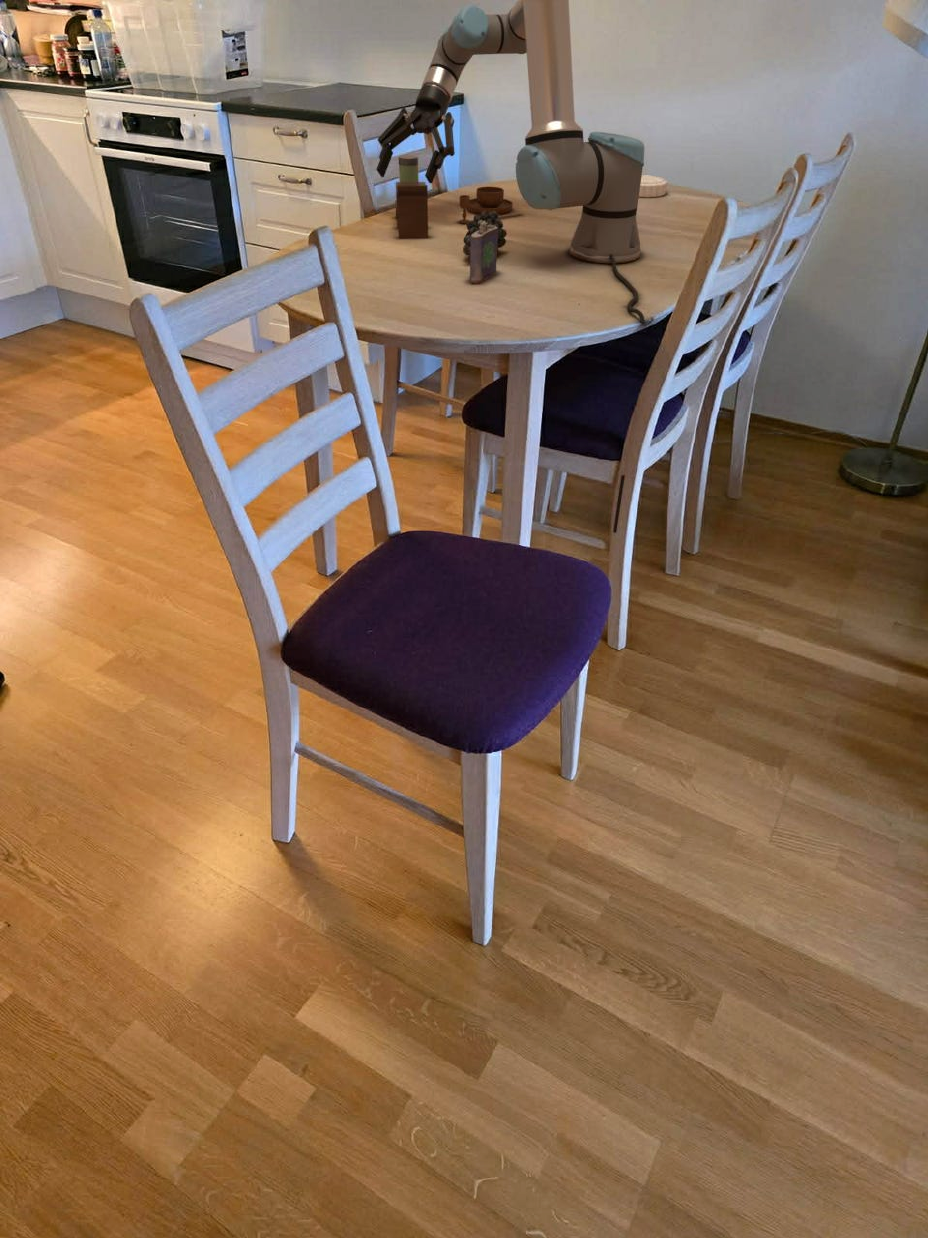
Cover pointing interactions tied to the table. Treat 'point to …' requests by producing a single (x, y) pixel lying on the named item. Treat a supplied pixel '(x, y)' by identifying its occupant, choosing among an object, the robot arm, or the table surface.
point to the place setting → (486, 202)
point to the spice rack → (412, 209)
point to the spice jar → (408, 168)
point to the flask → (483, 253)
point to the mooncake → (652, 186)
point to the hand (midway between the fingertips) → (403, 176)
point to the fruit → (491, 220)
